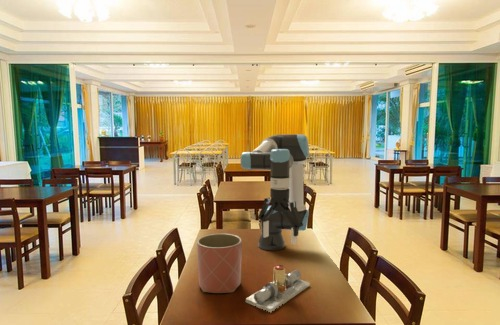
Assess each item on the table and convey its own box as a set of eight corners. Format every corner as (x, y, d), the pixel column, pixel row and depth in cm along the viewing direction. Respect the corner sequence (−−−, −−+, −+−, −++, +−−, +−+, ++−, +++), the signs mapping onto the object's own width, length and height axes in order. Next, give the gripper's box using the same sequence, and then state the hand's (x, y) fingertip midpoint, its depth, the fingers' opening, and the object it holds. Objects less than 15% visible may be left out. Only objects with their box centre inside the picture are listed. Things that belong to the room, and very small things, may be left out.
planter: (201, 275, 155) (201, 233, 153) (243, 276, 155) (243, 233, 153) (193, 295, 136) (192, 247, 134) (240, 296, 136) (240, 248, 134)
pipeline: (285, 278, 152) (286, 264, 152) (309, 285, 145) (309, 271, 144) (245, 302, 131) (245, 286, 130) (270, 312, 123) (270, 295, 123)
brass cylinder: (277, 285, 141) (277, 263, 140) (287, 289, 138) (287, 266, 137) (271, 290, 137) (271, 266, 136) (280, 293, 134) (280, 270, 133)
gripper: (249, 185, 139) (249, 236, 141) (302, 193, 123) (301, 249, 125) (260, 183, 144) (260, 231, 146) (312, 190, 129) (311, 244, 131)
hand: (279, 240), depth 136 cm, fingers open, 13 cm apart
